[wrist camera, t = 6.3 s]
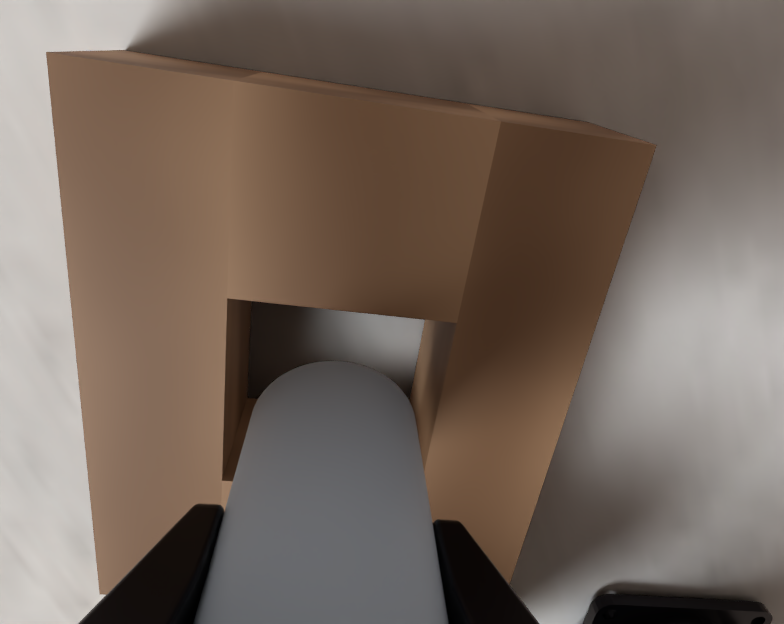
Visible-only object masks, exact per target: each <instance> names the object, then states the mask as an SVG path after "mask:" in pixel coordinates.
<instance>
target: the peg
mask: <svg viewBox="0 0 784 624" xmlns="http://www.w3.org/2000/svg"><path fill="white" fill-rule="evenodd" d="M193 624H449V621H448V615H447V609H446V603H445V596H444V590H443V584H442V578H441V572H440V566H439V560H438V554H437V547H436V541H435V535H434V529H433V523H432V517H431V511H430V505H429V498H428V492H427V486H426V480H425V474H424V468H423V462H422V456H421V449H420V443H419V437H418V431H417V425H416V419H415V414H414V411H413V408H412V406H411V404H410V402H409V400H408V398H407V396H406V395H405V394H404V392H403V391H402V390H401V389H400V388H399V387H398V386H397V385H396V384H395V383H394V382H393V381H392V380H390V379H389V378H388V377H386V376H385V375H383V374H381V373H380V372H378V371H376V370H374V369H371V368H369V367H367V366H363V365H360V364H356V363H351V362H345V361H321V362H315V363H310V364H306V365H303V366H300V367H297V368H295V369H293V370H290V371H288V372H286V373H285V374H283V375H281V376H280V377H278V378H277V379H276V380H275V381H273V382H272V383H271V384H270V385H269V386H268V387H267V388H266V389H265V390H264V391H263V393H262V394H261V395H260V397H259V398H258V400H257V402H256V404H255V406H254V408H253V412H252V415H251V418H250V422H249V425H248V429H247V433H246V436H245V440H244V443H243V447H242V450H241V454H240V458H239V461H238V465H237V468H236V472H235V476H234V479H233V483H232V486H231V490H230V493H229V497H228V501H227V504H226V508H225V511H224V515H223V519H222V522H221V526H220V529H219V533H218V537H217V540H216V544H215V547H214V551H213V554H212V558H211V562H210V565H209V569H208V572H207V576H206V580H205V583H204V587H203V590H202V594H201V597H200V601H199V604H198V608H197V611H196V615H195V619H194V622H193Z"/></svg>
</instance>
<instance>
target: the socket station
mask: <svg viewBox="0 0 784 624" xmlns="http://www.w3.org/2000/svg"><path fill="white" fill-rule="evenodd" d="M46 55H47V65H48V76H49V86H50V96H51V106H52V116H53V126H54V136H55V146H56V156H57V167H58V177H59V187H60V197H61V207H62V217H63V227H64V237H65V247H66V258H67V268H68V278H69V288H70V298H71V308H72V318H73V328H74V338H75V348H76V359H77V369H78V379H79V389H80V399H81V409H82V419H83V429H84V439H85V450H86V460H87V470H88V480H89V490H90V500H91V510H92V520H93V530H94V541H95V551H96V561H97V571H98V581H99V591H100V594H108V593H109V592H110V591H111V590H112V589H113V588H114V587H115V586H116V585H117V584H118V583H119V581H120V580H121V579H122V578H123V577H124V576H125V575H126V574H127V573H128V572H129V571H130V570H131V569H132V568H133V567H134V566H135V565H136V564H137V563H138V562H139V561H140V560H141V559H142V558H143V557H144V556H145V555H146V554H147V553H148V552H149V551H150V550H151V549H152V548H153V547H154V546H155V545H156V544H157V543H158V542H159V541H160V539H161V538H162V537H163V536H164V535H165V534H166V533H167V532H168V531H169V530H170V529H171V528H172V527H173V526H174V525H175V524H176V523H177V522H178V521H179V520H180V519H181V518H182V517H183V516H184V515H185V514H186V513H187V512H188V511H189V510H190V509H191V508H192V507H193V506H194V505H196V504H199V503H202V504H217V505H221V506H222V507H223V508H224V511H225V508H226V504H227V501H228V497H229V493H230V490H231V486H232V483H233V479H234V476H235V472H236V468H237V465H238V461H239V458H240V454H241V450H242V447H243V443H244V440H245V436H246V433H247V429H248V425H249V422H250V418H251V415H252V412H253V408H254V406H255V404H256V402H257V400H258V399H252V398H247V387H248V366H249V346H250V325H251V304H252V301H257V302H266V303H276V304H285V305H294V306H303V307H313V308H322V309H331V310H341V311H350V312H359V313H368V314H378V315H387V316H396V317H406V318H415V319H424V320H425V323H424V328H423V333H422V338H421V343H420V349H419V354H418V359H417V364H416V369H415V375H414V380H413V385H412V390H411V395H410V401H409V402H410V404H411V406H412V408H413V411H414V414H415V419H416V425H417V431H418V437H419V443H420V449H421V456H422V462H423V468H424V474H425V480H426V486H427V492H428V498H429V505H430V511H431V517H432V523H434V521H435V520H437V519H444V520H457V521H459V522H461V523H462V524H463V525H464V526H465V528H466V529H467V530H468V532H469V533H470V534H471V536H472V537H473V538H474V539H475V541H476V542H477V543H478V545H479V546H480V547H481V549H482V550H483V551H484V552H485V554H486V555H487V556H488V558H489V559H490V560H491V562H492V563H493V564H494V565H495V567H496V568H497V569H498V571H499V572H500V573H501V575H502V576H503V577H504V578H505V580H506V581H507V582H508V584H510V581H511V578H512V575H513V572H514V569H515V566H516V563H517V560H518V557H519V554H520V551H521V548H522V545H523V542H524V539H525V536H526V533H527V531H528V528H529V525H530V522H531V519H532V516H533V513H534V510H535V507H536V504H537V501H538V498H539V495H540V492H541V489H542V486H543V483H544V480H545V477H546V474H547V471H548V468H549V465H550V462H551V459H552V456H553V453H554V450H555V447H556V444H557V441H558V438H559V435H560V432H561V429H562V426H563V423H564V420H565V417H566V414H567V411H568V408H569V405H570V402H571V399H572V396H573V393H574V390H575V387H576V384H577V381H578V378H579V375H580V372H581V369H582V366H583V363H584V361H585V358H586V355H587V352H588V349H589V346H590V343H591V340H592V337H593V334H594V331H595V328H596V325H597V322H598V319H599V316H600V313H601V310H602V307H603V304H604V301H605V298H606V295H607V292H608V289H609V286H610V283H611V280H612V277H613V274H614V271H615V268H616V265H617V262H618V259H619V256H620V253H621V250H622V247H623V244H624V241H625V238H626V235H627V232H628V229H629V226H630V223H631V220H632V217H633V214H634V211H635V208H636V205H637V202H638V199H639V196H640V193H641V191H642V188H643V185H644V182H645V179H646V176H647V173H648V170H649V167H650V164H651V161H652V158H653V155H654V152H655V149H656V146H657V145H655V144H652V143H649V142H646V141H643V140H640V139H637V138H634V137H631V136H628V135H625V134H622V133H619V132H616V131H613V130H610V129H607V128H604V127H601V126H598V125H595V124H592V123H589V122H583V121H577V120H570V119H564V118H557V117H551V116H544V115H538V114H532V113H525V112H519V111H512V110H506V109H499V108H493V107H486V106H480V105H474V104H467V103H461V102H454V101H448V100H441V99H435V98H428V97H422V96H416V95H409V94H403V93H396V92H390V91H383V90H377V89H370V88H364V87H358V86H351V85H345V84H338V83H332V82H325V81H319V80H312V79H306V78H299V77H293V76H287V75H280V74H274V73H267V72H261V71H254V70H248V69H241V68H235V67H229V66H222V65H216V64H209V63H203V62H196V61H190V60H183V59H177V58H171V57H164V56H158V55H151V54H145V53H138V52H132V51H125V50H111V51H73V52H46Z"/></svg>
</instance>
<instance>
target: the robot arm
mask: <svg viewBox="0 0 784 624" xmlns="http://www.w3.org/2000/svg"><path fill="white" fill-rule="evenodd" d="M223 515H224V508H223V507H222V506H221V505H217V504H202V503H199V504H196V505H194V506H193V507H192V508H191V509H190V510H189V511H188V512H187V513H186V514H185V515H184V516H183V517H182V518H181V519H180V520H179V521H178V522H177V523H176V524H175V525H174V526H173V527H172V528H171V529H170V530H169V531H168V532H167V533H166V534H165V535H164V536H163V537H162V538H161V539H160V541H159V542H158V543H157V544H156V545H155V546H154V547H153V548H152V549H151V550H150V551H149V552H148V553H147V554H146V555H145V556H144V557H143V558H142V559H141V560H140V561H139V562H138V563H137V564H136V565H135V566H134V567H133V568H132V569H131V570H130V571H129V572H128V573H127V574H126V575H125V576H124V577H123V578H122V579H121V580H120V581H119V583H118V584H117V585H116V586H115V587H114V588H113V589H112V590H111V591H110V592H109V593H108V594H107V595H106V596H105V597H104V598H103V599H102V600H101V601H100V602H99V603H98V604H97V605H96V606H95V607H94V608H93V609H92V610H91V611H90V612H89V613H88V614H87V615H86V616H85V617H84V618H83V619H82V620H81V621H80V622H79V623H78V624H193V622H194V619H195V615H196V611H197V608H198V604H199V601H200V597H201V594H202V590H203V587H204V583H205V580H206V576H207V572H208V569H209V565H210V562H211V558H212V554H213V551H214V547H215V544H216V540H217V537H218V533H219V529H220V526H221V522H222V519H223ZM433 529H434V535H435V541H436V547H437V554H438V560H439V566H440V572H441V578H442V584H443V590H444V596H445V603H446V609H447V615H448V621H449V624H539V623H538V621H537V620H536V619H535V617H534V616H533V615H532V614H531V612H530V611H529V610H528V608H527V607H526V606H525V604H524V603H523V602H522V601H521V599H520V598H519V597H518V595H517V594H516V593H515V591H514V590H513V589H512V588H511V586H510V585H509V584H508V582H507V581H506V580H505V578H504V577H503V576H502V575H501V573H500V572H499V571H498V569H497V568H496V567H495V565H494V564H493V563H492V562H491V560H490V559H489V558H488V556H487V555H486V554H485V552H484V551H483V550H482V549H481V547H480V546H479V545H478V543H477V542H476V541H475V539H474V538H473V537H472V536H471V534H470V533H469V532H468V530H467V529H466V528H465V526H464V525H463V524H462V523H461V522H459V521H457V520H444V519H437V520H435V521H434V523H433ZM771 621H772V615H771V614H770V613H769V611H768V610H767V608H766V607H765V606H764V605H763V604H762V603H760V602H753V601H734V600H714V599H695V598H675V597H656V596H637V595H617V594H605V595H602V596H599V597H597V598H596V599H594V601H593V602H592V603H591V606H590V608H589V610H588V613H587V615H586V617H585V620H584V622H583V624H770V623H771Z"/></svg>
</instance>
